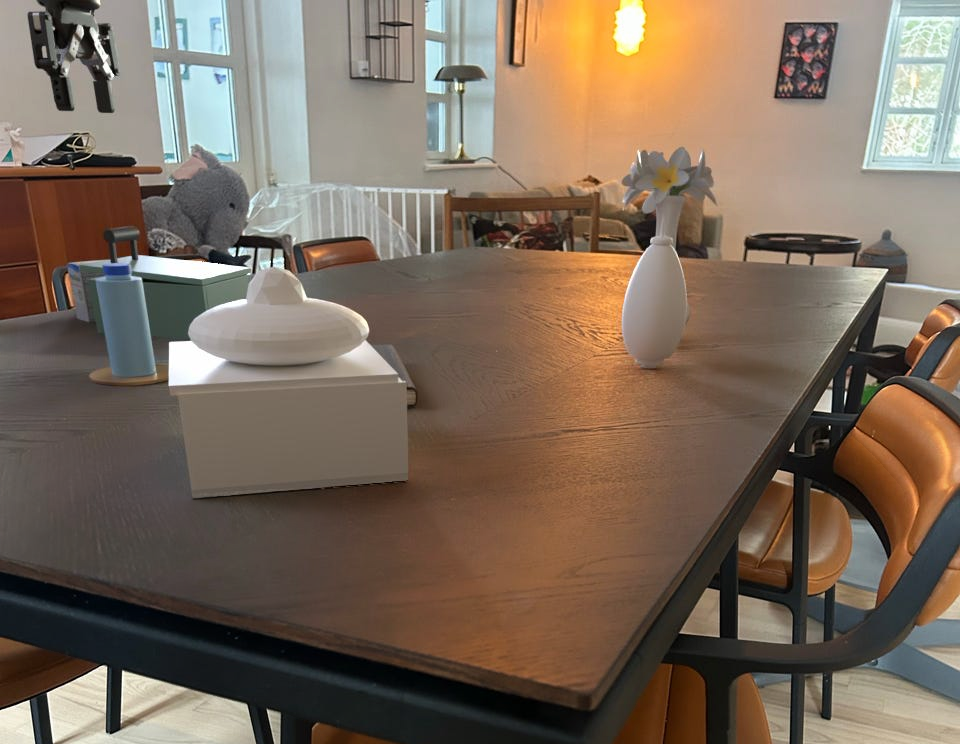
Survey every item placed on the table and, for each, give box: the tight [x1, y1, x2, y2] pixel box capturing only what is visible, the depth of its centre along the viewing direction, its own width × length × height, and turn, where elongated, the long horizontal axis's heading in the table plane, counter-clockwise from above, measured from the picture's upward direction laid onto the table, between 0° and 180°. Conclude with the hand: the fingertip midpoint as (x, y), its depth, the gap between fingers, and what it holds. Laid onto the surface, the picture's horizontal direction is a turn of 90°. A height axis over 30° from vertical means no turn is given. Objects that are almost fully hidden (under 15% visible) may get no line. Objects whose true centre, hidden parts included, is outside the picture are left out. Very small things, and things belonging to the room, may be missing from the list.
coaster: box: [88, 363, 169, 387], centre depth 109 cm, size 10×10×1 cm
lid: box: [80, 225, 251, 285], centre depth 128 cm, size 19×14×5 cm
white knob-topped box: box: [168, 266, 410, 495], centre depth 78 cm, size 18×18×16 cm
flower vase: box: [621, 146, 719, 326], centre depth 130 cm, size 13×18×25 cm
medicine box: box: [66, 259, 106, 323], centre depth 138 cm, size 8×4×9 cm, turn 135°
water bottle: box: [96, 263, 156, 377], centre depth 106 cm, size 5×5×12 cm
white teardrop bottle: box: [621, 213, 688, 370], centre depth 113 cm, size 8×8×18 cm
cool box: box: [88, 273, 252, 340], centre depth 131 cm, size 18×14×8 cm
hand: (86, 112), depth 121 cm, fingers open, 8 cm apart
